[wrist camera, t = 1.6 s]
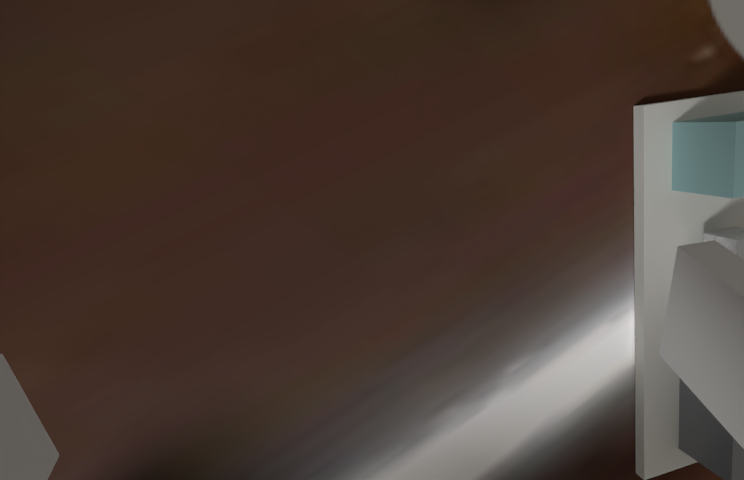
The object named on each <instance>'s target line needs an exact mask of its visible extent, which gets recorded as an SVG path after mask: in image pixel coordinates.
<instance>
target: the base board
mask: <svg viewBox="0 0 744 480" xmlns="http://www.w3.org/2000/svg"><path fill="white" fill-rule="evenodd" d="M738 112H744V91H737V92H729V93H722V94H715V95H708V96H701V97H694V98H687V99H680V100H673V101H665V102H658V103H651V104H644V105H637V106H634V271H635V446H636V474H637V475H638V476H640V477H641V478H642V479H643V480H647V479H650V478H652V477H655V476H658V475H661V474H664V473H667V472H670V471H673V470H676V469H679V468H682V467H685V466H688V465H691V464H694V463H696V462H697V461H696V460H694V459H693V458H692V457H690V456H689V455H687V454H686V453H684V452H683V451H681V450H680V449H679V448H678V447H679V384H680V377H679V376H678V375H677V374H676V373H675V372H674V371H673V370H672V368H671V367H670V366H669V365H668V364H667V363H666V362H665V361H664V359H663V358H662V357H661V356H660V355H659V351H660V345H661V339H662V334H663V328H664V322H665V316H666V311H667V305H668V299H669V293H670V287H671V282H672V276H673V270H674V264H675V259H676V253H677V247H678V246H681V245H688V244H694V243H700V242H703V233H706V232H711V231H715V230H720V229H725V228H729V227H734V226H736V227H741V228H744V197H739V198H734V199H732V198H725V197H718V196H710V195H703V194H696V193H689V192H681V191H674V190H672V122H679V121H686V120H692V119H699V118H705V117H712V116H718V115H725V114H731V113H738Z"/></svg>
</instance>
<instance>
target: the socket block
mask: <svg viewBox="0 0 744 480" xmlns="http://www.w3.org/2000/svg"><path fill="white" fill-rule="evenodd" d="M672 190H674V191H681V192H689V193H696V194H703V195H710V196H718V197H725V198H732V199H734V198H739V197H744V112H738V113H731V114H725V115H718V116H712V117H705V118H699V119H692V120H686V121H679V122H672Z"/></svg>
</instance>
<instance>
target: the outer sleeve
mask: <svg viewBox="0 0 744 480" xmlns="http://www.w3.org/2000/svg"><path fill="white" fill-rule="evenodd" d="M678 448H679V449H680V450H681V451H683V452H684V453H686V454H687V455H689V456H690V457H692V458H693V459H694V460H696V461H697V462H699V463H700V464H702V465H703V466H705V467H706V468H707V469H709V470H710V471H712V472H713V473H715V474H716V475H717V476H719V477H720V478H722V479H723V480H744V449H743V448H742V447H741V446H740V445H739V443H738V442H737V441H736V440H735V439H734V438H733V437H732V436H731V434H730V433H729V432H728V431H727V430H726V429H725V428H724V427H723V426H722V424H721V423H720V422H719V421H718V420H717V419H716V418H715V417H714V415H713V414H712V413H711V412H710V411H709V410H708V409H707V408H706V406H705V405H704V404H703V403H702V402H701V401H700V400H699V399H698V398H697V396H696V395H695V394H694V393H693V392H692V391H691V390H690V389H689V387H688V386H687V385H686V384H685V383H684V382H683V381H682V380H681V378H680V384H679V447H678Z"/></svg>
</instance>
